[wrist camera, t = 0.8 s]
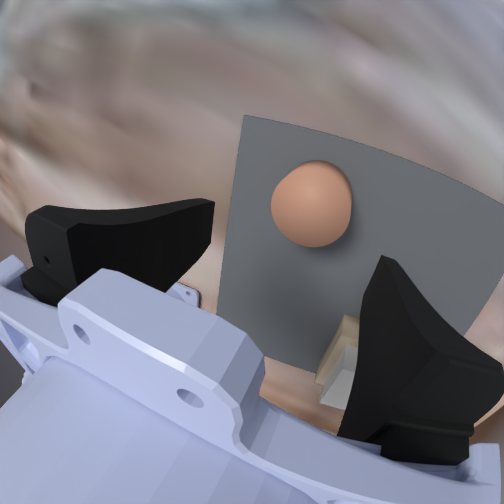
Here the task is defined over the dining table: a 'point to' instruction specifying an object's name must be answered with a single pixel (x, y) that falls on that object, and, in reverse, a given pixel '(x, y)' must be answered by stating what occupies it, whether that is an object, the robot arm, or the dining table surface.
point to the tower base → (338, 346)
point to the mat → (349, 242)
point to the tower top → (340, 379)
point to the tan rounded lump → (313, 204)
